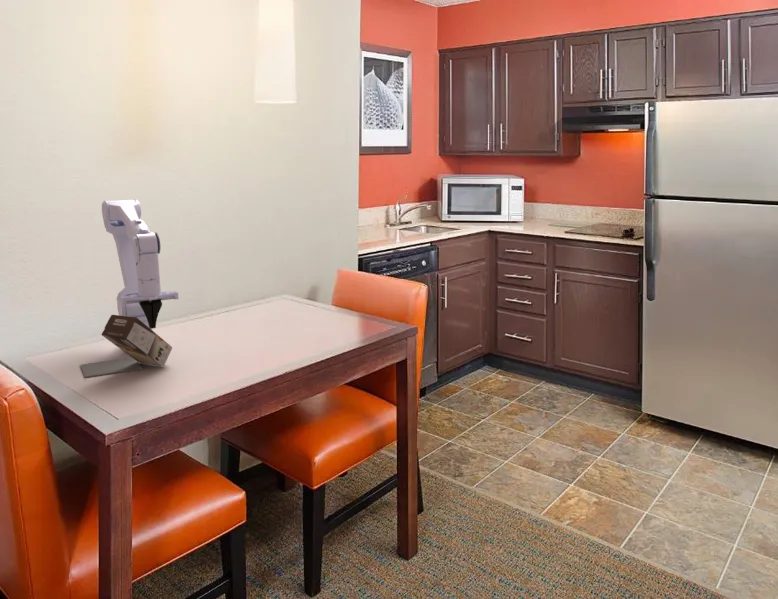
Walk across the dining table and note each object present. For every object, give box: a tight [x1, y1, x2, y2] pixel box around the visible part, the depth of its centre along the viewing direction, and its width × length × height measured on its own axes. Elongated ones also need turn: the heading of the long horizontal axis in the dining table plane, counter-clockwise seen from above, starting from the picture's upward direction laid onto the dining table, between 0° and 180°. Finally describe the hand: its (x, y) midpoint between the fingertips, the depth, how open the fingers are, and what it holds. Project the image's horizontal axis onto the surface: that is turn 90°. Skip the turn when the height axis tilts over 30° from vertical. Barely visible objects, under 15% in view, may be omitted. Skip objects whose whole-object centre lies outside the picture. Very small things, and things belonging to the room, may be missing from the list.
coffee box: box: [101, 314, 173, 368], centre depth 180 cm, size 9×6×16 cm
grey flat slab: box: [80, 356, 143, 379], centre depth 183 cm, size 11×14×1 cm
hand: (152, 327), depth 185 cm, fingers closed
